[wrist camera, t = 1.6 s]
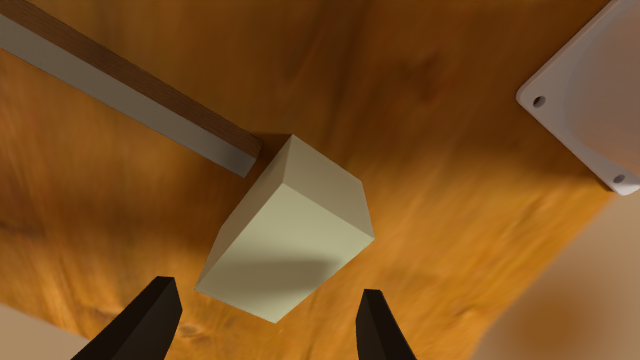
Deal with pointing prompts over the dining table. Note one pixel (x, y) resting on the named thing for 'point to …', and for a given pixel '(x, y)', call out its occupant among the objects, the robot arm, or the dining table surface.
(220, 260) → the cabinet block
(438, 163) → the dining table surface
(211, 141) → the strip
